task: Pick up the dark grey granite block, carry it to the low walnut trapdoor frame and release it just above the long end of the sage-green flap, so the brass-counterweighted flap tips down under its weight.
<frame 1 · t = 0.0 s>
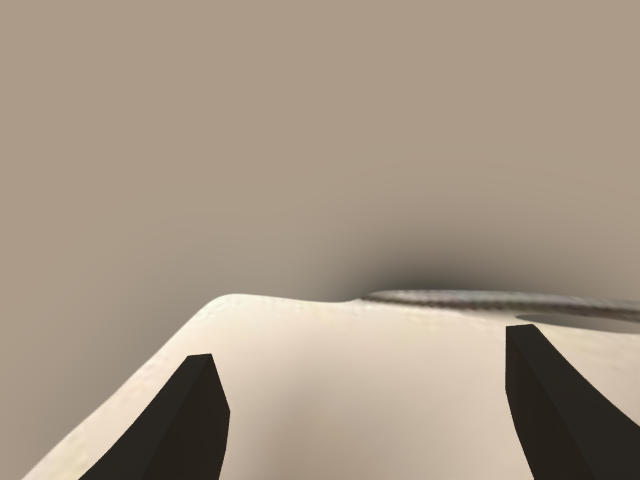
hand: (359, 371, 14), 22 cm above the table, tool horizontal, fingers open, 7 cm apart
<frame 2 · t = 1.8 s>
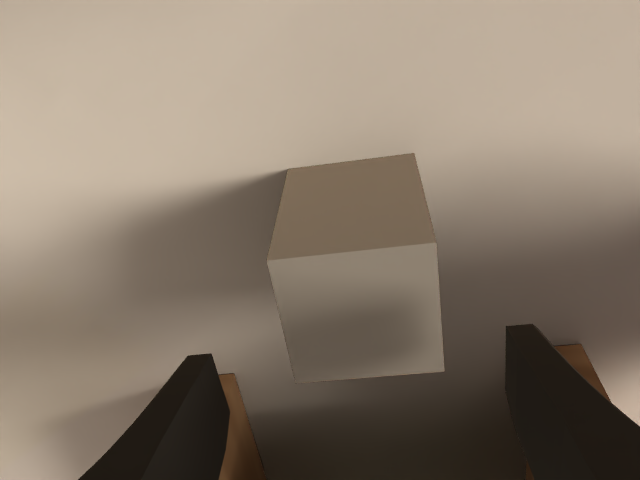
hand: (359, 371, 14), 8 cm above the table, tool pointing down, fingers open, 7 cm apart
granite block: (357, 216, 21), on the table
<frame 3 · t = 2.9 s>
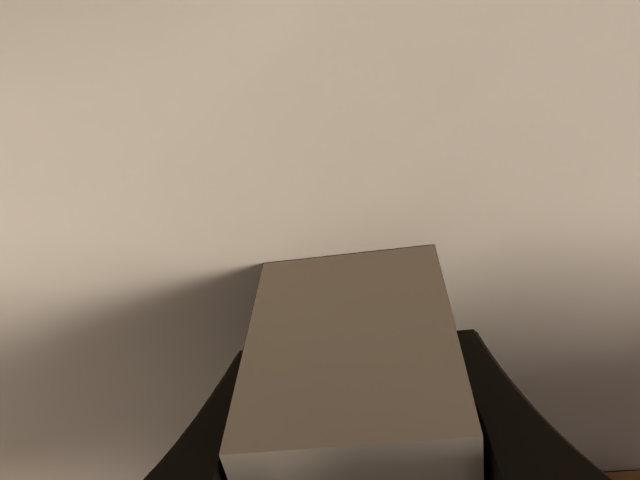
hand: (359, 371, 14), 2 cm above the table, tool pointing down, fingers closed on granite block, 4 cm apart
granite block: (358, 321, 16), on the table, touching gripper
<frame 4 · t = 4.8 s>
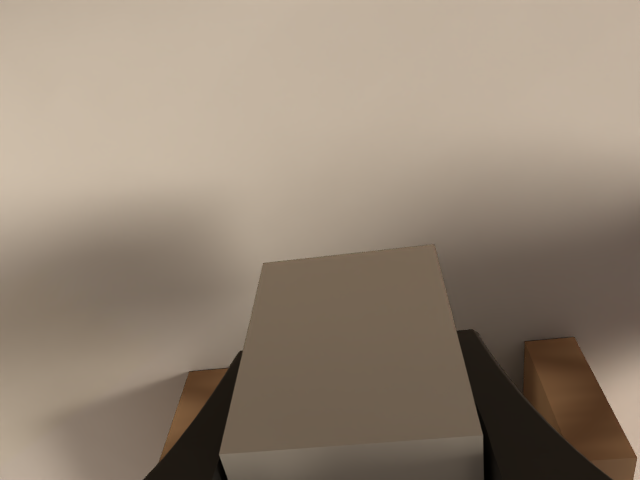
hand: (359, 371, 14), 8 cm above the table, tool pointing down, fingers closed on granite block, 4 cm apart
granite block: (357, 321, 16), point 6 cm above the table, touching gripper
trapdoor frame: (391, 475, 29), on the table
when the fingers open (9 cm above the table, at t = 6.8 s): granite block drops 1 cm, resting on trapdoor.
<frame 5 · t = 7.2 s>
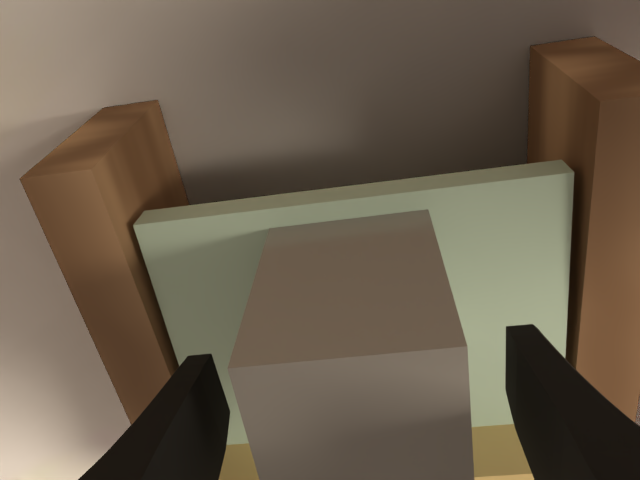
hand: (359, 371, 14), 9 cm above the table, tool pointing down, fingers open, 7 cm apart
granite block: (357, 286, 17), point 6 cm above the table, touching trapdoor
trapdoor frame: (364, 271, 23), on the table
trapdoor: (367, 371, 18), point 6 cm above the table, hinge at -3.5°, touching granite block
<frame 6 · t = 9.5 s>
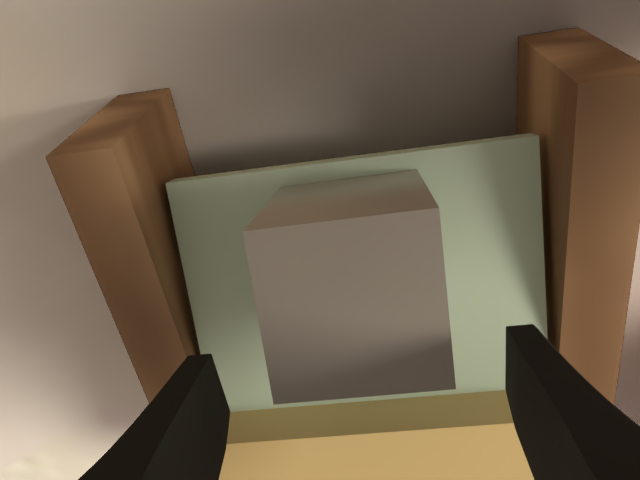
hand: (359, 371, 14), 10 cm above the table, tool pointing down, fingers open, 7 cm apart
granite block: (356, 243, 19), point 5 cm above the table, tilted 16°, touching trapdoor
trapdoor frame: (363, 251, 25), on the table
trapdoor: (365, 325, 19), point 6 cm above the table, hinge at -15.6°, touching granite block
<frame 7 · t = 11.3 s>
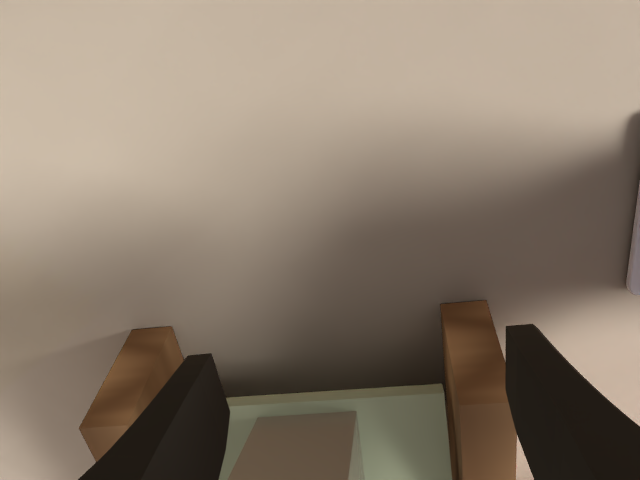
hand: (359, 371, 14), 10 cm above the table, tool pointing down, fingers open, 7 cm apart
granite block: (312, 460, 25), point 4 cm above the table, tilted 22°, touching trapdoor
trapdoor frame: (327, 435, 30), on the table
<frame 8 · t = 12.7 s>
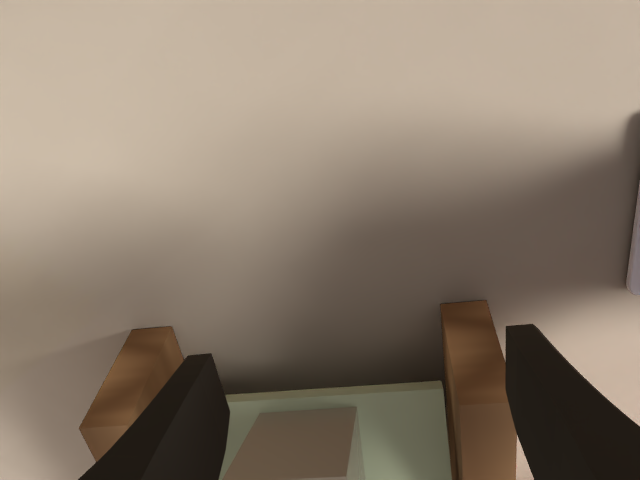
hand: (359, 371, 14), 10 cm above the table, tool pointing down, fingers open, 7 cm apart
granite block: (313, 457, 26), point 4 cm above the table, tilted 25°, touching trapdoor
trapdoor frame: (327, 435, 30), on the table
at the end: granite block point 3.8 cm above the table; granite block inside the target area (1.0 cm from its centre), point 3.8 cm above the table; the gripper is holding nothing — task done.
